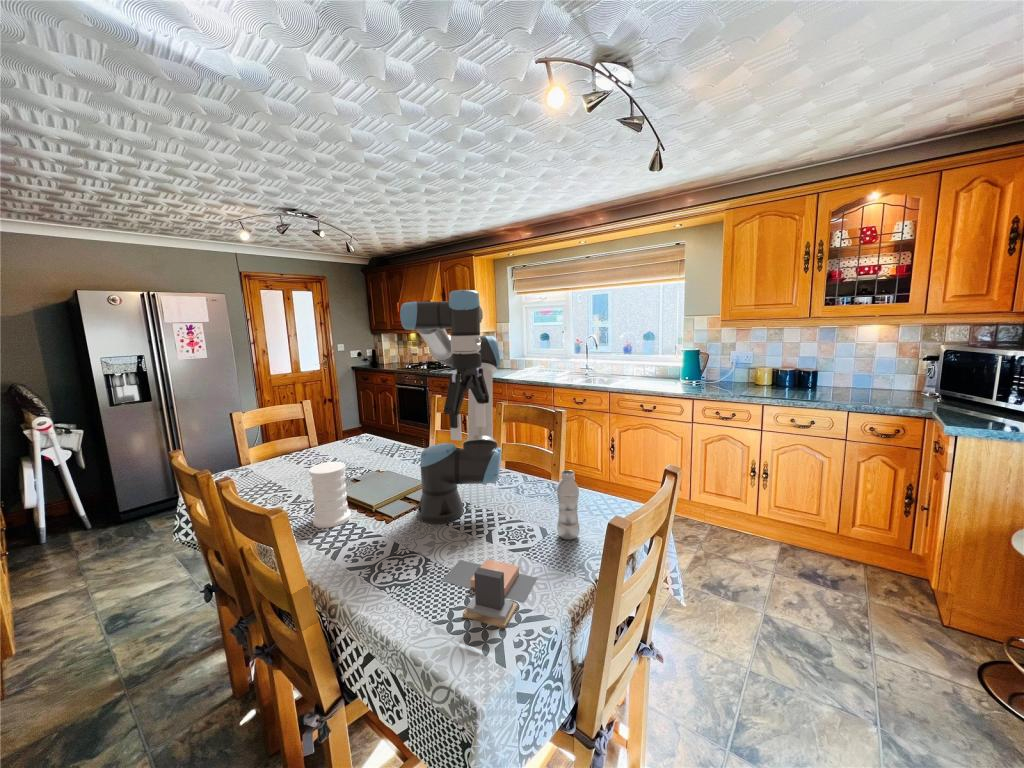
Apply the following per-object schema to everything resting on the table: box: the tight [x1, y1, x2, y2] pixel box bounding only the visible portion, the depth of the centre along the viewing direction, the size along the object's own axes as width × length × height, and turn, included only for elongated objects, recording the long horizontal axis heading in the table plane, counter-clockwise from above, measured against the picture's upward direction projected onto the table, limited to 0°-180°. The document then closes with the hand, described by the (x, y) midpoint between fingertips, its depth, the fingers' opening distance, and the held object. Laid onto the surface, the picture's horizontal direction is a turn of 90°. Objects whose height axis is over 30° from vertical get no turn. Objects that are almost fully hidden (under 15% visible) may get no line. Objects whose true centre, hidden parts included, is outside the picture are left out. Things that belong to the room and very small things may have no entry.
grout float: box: [466, 567, 514, 621], centre depth 87 cm, size 9×5×8 cm, turn 70°
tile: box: [470, 558, 520, 596], centre depth 98 cm, size 2×9×9 cm
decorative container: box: [308, 461, 352, 529], centre depth 132 cm, size 12×12×18 cm
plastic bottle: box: [556, 469, 580, 541], centre depth 118 cm, size 6×7×20 cm
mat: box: [440, 559, 539, 603], centre depth 99 cm, size 22×10×1 cm, turn 68°
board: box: [462, 602, 518, 630], centre depth 88 cm, size 10×7×1 cm
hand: (469, 432), depth 106 cm, fingers open, 13 cm apart
